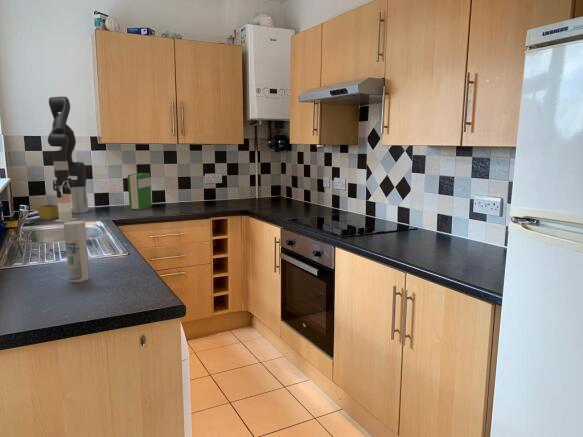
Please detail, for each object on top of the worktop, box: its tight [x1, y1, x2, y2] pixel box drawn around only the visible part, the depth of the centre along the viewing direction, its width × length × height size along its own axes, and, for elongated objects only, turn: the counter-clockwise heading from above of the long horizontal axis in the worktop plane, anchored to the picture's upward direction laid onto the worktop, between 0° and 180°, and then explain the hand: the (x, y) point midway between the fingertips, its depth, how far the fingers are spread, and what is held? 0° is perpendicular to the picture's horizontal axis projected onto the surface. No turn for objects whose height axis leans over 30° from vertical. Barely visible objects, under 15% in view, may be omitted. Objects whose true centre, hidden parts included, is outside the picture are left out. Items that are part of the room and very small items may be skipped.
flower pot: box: [36, 204, 59, 221], centre depth 263 cm, size 9×9×9 cm
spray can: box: [63, 220, 90, 283], centre depth 150 cm, size 6×6×20 cm
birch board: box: [53, 217, 79, 222], centre depth 262 cm, size 10×10×1 cm
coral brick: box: [56, 193, 72, 204], centre depth 259 cm, size 5×5×5 cm
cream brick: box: [57, 201, 72, 212], centre depth 260 cm, size 5×5×5 cm
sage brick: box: [58, 210, 73, 220], centre depth 261 cm, size 5×5×5 cm
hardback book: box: [127, 172, 152, 211], centre depth 310 cm, size 18×7×24 cm, turn 171°
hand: (63, 196), depth 259 cm, fingers open, 8 cm apart
